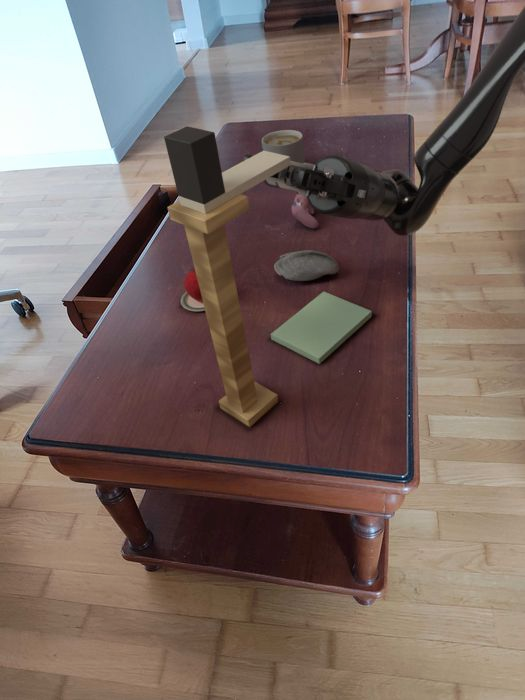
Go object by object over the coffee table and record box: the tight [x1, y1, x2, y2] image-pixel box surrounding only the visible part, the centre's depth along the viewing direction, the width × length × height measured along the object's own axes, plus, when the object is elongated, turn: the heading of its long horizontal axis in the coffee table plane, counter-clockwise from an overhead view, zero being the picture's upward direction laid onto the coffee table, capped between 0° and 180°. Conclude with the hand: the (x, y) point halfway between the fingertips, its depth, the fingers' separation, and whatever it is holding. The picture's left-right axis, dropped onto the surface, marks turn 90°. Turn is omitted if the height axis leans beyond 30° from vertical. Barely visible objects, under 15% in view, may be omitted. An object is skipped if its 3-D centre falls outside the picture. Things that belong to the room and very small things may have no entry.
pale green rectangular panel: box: [270, 291, 373, 365], centre depth 84 cm, size 10×14×1 cm
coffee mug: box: [261, 129, 306, 187], centre depth 128 cm, size 13×10×10 cm
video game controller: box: [291, 193, 319, 230], centre depth 111 cm, size 10×5×7 cm, turn 161°
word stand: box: [167, 193, 279, 428], centre depth 63 cm, size 6×6×32 cm
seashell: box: [273, 249, 340, 282], centre depth 95 cm, size 12×8×5 cm
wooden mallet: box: [163, 125, 291, 214], centre depth 53 cm, size 4×13×7 cm, turn 137°
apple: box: [180, 268, 205, 312], centre depth 92 cm, size 8×8×6 cm
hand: (271, 170), depth 58 cm, fingers open, 8 cm apart
